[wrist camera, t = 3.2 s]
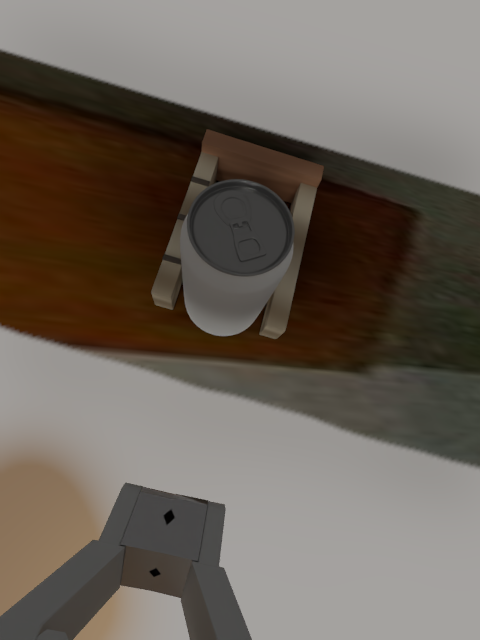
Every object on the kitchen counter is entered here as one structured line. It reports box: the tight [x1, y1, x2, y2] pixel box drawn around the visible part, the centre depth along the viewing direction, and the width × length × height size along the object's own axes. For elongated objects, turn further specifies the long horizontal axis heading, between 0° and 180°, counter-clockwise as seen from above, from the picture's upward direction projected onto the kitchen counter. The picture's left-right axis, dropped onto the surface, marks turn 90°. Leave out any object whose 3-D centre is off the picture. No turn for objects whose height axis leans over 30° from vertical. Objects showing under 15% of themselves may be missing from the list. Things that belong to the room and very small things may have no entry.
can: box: [180, 179, 295, 336], centre depth 23 cm, size 6×6×12 cm
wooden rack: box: [151, 129, 324, 339], centre depth 28 cm, size 15×10×4 cm
